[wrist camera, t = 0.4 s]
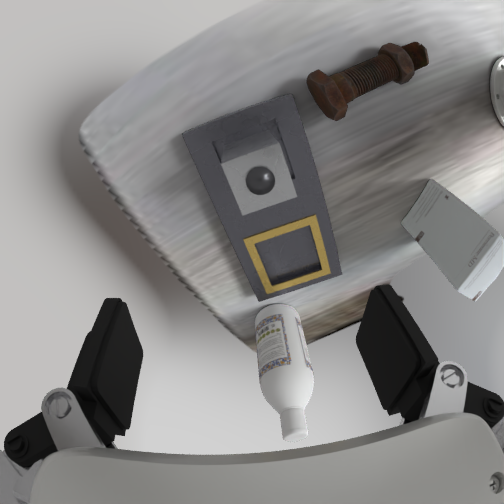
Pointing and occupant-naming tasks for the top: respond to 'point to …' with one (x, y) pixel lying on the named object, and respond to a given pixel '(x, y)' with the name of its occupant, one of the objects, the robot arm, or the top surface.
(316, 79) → the bolt
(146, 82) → the top surface
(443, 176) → the top surface
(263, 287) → the grey slotted board
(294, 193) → the brushed steel block
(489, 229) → the skincare box
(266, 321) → the bath foam
